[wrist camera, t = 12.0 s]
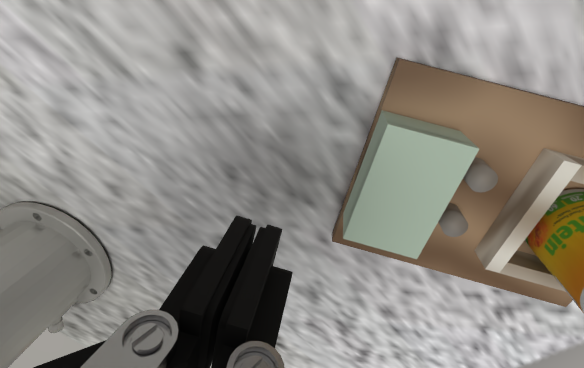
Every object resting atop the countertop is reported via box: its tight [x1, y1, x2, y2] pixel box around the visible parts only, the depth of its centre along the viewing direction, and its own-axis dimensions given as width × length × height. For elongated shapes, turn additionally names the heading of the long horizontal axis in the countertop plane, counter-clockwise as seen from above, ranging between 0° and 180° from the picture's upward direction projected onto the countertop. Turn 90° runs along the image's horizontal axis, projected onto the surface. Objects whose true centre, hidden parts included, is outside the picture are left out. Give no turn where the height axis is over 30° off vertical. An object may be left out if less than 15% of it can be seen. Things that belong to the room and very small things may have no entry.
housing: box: [343, 110, 479, 259], centre depth 20 cm, size 8×5×3 cm, turn 167°
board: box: [332, 58, 584, 307], centre depth 21 cm, size 14×19×3 cm
